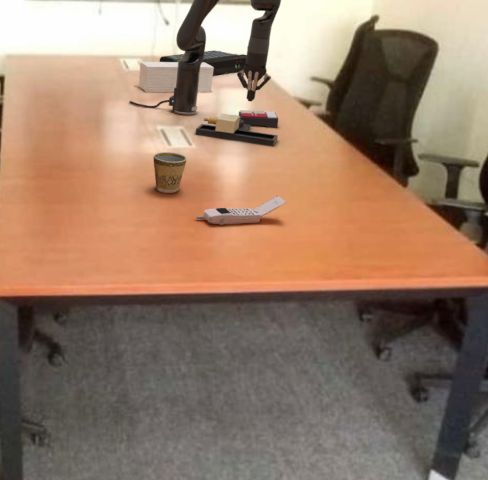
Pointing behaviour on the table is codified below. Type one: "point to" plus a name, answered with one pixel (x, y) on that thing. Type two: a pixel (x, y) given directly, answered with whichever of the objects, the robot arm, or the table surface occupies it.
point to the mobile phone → (241, 213)
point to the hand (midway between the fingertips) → (250, 100)
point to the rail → (238, 135)
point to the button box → (243, 126)
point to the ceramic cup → (168, 171)
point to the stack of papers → (170, 77)
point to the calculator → (259, 118)
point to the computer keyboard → (216, 61)
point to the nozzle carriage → (225, 123)
